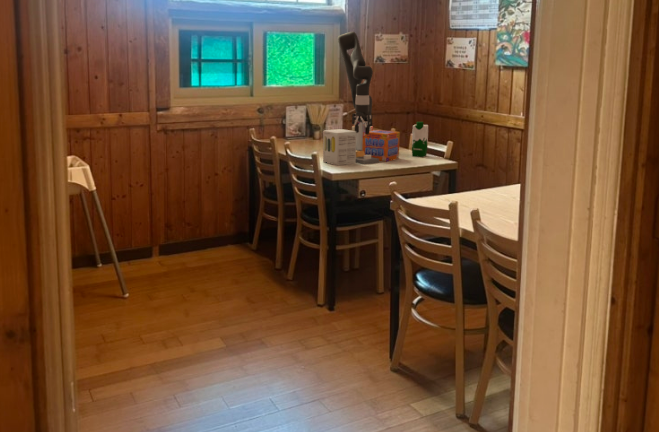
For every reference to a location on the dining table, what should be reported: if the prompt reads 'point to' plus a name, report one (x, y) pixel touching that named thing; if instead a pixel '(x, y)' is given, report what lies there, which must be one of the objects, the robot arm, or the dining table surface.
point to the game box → (381, 144)
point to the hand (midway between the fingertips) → (361, 133)
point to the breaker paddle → (360, 154)
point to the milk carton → (419, 140)
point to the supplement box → (339, 146)
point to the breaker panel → (366, 159)
